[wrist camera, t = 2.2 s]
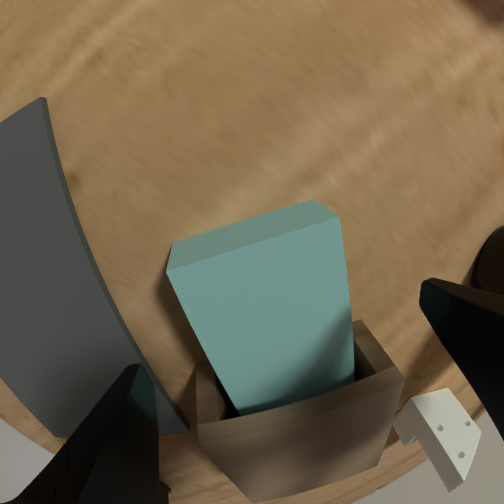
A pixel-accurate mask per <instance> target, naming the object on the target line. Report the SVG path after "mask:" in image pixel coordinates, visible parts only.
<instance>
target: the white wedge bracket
mask: <svg viewBox="0 0 504 504" xmlns="http://www.w3.org/2000/svg"><path fill="white" fill-rule="evenodd" d="M392 426H393V427H394V429H395V431H396V433H397V434H398V436H399V438H400V440H401V441H402V443H403V445H404V446H407V445H410V444H413V443H416V442H418V441H419V442H420V444H421V445H422V447H423V449H424V450H425V452H426V454H427V455H428V457H429V459H430V460H431V462H432V464H433V465H434V467H435V469H436V471H437V472H438V474H439V476H440V478H441V479H442V481H443V483H444V485H445V486H446V488H447V490H448V492H450V491H452V490H453V489H455V488H456V487H457V486H459V485H460V484H461V483H463V482H464V480H465V478H466V475H467V473H468V470H469V468H470V465H471V462H472V460H473V457H474V454H475V452H476V449H477V445H478V442H479V440H480V436H481V431H480V430H479V429H478V427H477V426H476V424H475V423H474V421H473V420H472V419H471V417H470V416H469V415H468V413H467V412H466V411H465V409H464V408H463V407H462V405H461V404H460V403H459V402H458V400H457V399H456V398H455V396H454V395H453V394H452V393H451V391H450V390H449V389H448V388H445V389H441V390H438V391H434V392H430V393H427V394H423V395H419V396H415V397H410V399H409V400H408V401H407V403H406V404H405V405H404V407H403V408H402V409H401V411H400V412H399V413H398V414H397V416H396V417H395V418H394V421H393V424H392Z"/></svg>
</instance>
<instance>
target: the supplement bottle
mask: <svg viewBox="0 0 504 504" xmlns="http://www.w3.org/2000/svg"><path fill="white" fill-rule="evenodd" d="M472 288H475V289H479V290H483V291H487V292H490V293H494V294H498V295H502V296H504V226H502V227H500V228H499V229H497V230H496V231H495V232H494V233H493V234H492V236H491V237H490V238H489V240H488V241H487V243H486V244H485V246H484V248H483V250H482V252H481V254H480V256H479V258H478V261H477V263H476V266H475V269H474V273H473V278H472Z"/></svg>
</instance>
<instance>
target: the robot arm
mask: <svg viewBox="0 0 504 504" xmlns="http://www.w3.org/2000/svg"><path fill="white" fill-rule="evenodd" d="M419 305H420V308H421V310H422V311H423V313H424V315H425V316H426V318H427V320H428V321H429V323H430V325H431V326H432V328H433V330H434V331H435V333H436V335H437V337H438V338H439V340H440V341H441V343H442V344H443V346H444V347H445V349H446V350H447V351H448V353H449V354H450V356H451V357H452V359H453V360H454V361H455V363H456V364H457V366H458V367H459V369H460V370H461V372H462V373H463V375H464V376H465V378H466V379H467V381H468V382H469V384H470V385H471V387H472V388H473V390H474V391H475V393H476V394H477V396H478V398H479V399H480V401H481V402H482V404H483V406H484V407H485V409H486V411H487V412H488V414H489V416H490V417H491V419H492V421H493V422H494V424H495V426H496V428H497V429H498V431H499V433H500V435H501V437H502V439H503V441H504V296H502V295H498V294H494V293H490V292H487V291H483V290H479V289H475V288H472V287H468V286H464V285H460V284H456V283H453V282H449V281H445V280H441V279H437V278H429V279H427V280H424V281H423V282H422V284H421V290H420V299H419ZM168 493H171V489H170V488H169V487H167V486H166V485H165V484H163V483H162V482H160V481H159V428H158V418H157V407H156V396H155V386H154V382H153V380H152V378H151V377H150V375H149V374H148V372H147V370H146V369H145V367H144V366H143V365H142V364H141V363H135V364H130V365H128V366H127V367H126V368H125V369H124V370H123V372H122V373H121V374H120V375H119V376H118V378H117V379H116V380H115V381H114V383H113V384H112V385H111V386H110V387H109V389H108V390H107V391H106V392H105V394H104V395H103V396H102V397H101V399H100V400H99V401H98V402H97V403H96V405H95V406H94V407H93V408H92V410H91V411H90V412H89V413H88V415H87V416H86V417H85V418H84V420H83V421H82V422H81V423H80V425H79V426H78V427H77V428H76V430H75V431H74V432H73V433H72V435H71V436H70V437H69V439H68V440H67V441H66V443H65V444H64V445H63V446H62V447H61V449H60V450H59V451H58V452H57V454H56V455H55V456H54V457H53V459H52V460H51V461H50V462H49V463H48V465H47V466H46V467H45V468H44V469H43V470H42V471H41V472H40V473H39V475H37V477H36V478H35V479H34V480H33V481H32V482H31V483H30V484H29V485H28V486H27V487H26V488H25V489H24V490H23V491H22V493H20V494H19V495H18V496H17V497H16V498H15V499H13V500H11V501H8V502H5V503H0V504H169V499H168Z"/></svg>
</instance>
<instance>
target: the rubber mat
mask: <svg viewBox="0 0 504 504" xmlns="http://www.w3.org/2000/svg"><path fill="white" fill-rule="evenodd" d="M135 363H141V364H142V365H143V366H144V367H145V369H146V370H147V372H148V374H149V375H150V377H151V378H152V380H153V382H154V386H155V396H156V407H157V418H158V428H159V435H167V434H176V433H184V432H190V426H189V424H188V423H187V422H186V420H185V419H184V418H183V416H182V415H181V413H180V412H179V411H178V409H177V408H176V406H175V405H174V403H173V402H172V400H171V399H170V398H169V396H168V395H167V393H166V392H165V390H164V389H163V387H162V385H161V384H160V382H159V381H158V379H157V378H156V376H155V375H154V373H153V371H152V370H151V368H150V366H149V365H148V363H147V361H146V360H145V358H144V356H143V355H142V353H141V351H140V350H139V348H138V346H137V344H136V343H135V341H134V339H133V337H132V336H131V334H130V332H129V330H128V328H127V326H126V324H125V323H124V321H123V319H122V317H121V315H120V313H119V311H118V309H117V307H116V305H115V303H114V301H113V299H112V297H111V295H110V293H109V291H108V289H107V287H106V284H105V282H104V280H103V278H102V276H101V273H100V271H99V269H98V267H97V264H96V262H95V260H94V257H93V255H92V253H91V250H90V248H89V245H88V243H87V240H86V238H85V235H84V233H83V230H82V227H81V225H80V222H79V219H78V216H77V214H76V211H75V208H74V205H73V202H72V199H71V196H70V193H69V190H68V186H67V183H66V180H65V177H64V173H63V170H62V166H61V163H60V159H59V155H58V151H57V147H56V143H55V139H54V135H53V130H52V126H51V121H50V116H49V111H48V106H47V100H46V98H43V97H40V98H38V99H36V100H35V101H33V102H31V103H30V104H28V105H26V106H25V107H23V108H22V109H20V110H19V111H17V112H15V113H14V114H12V115H11V116H10V117H8V118H7V119H5V120H4V121H2V122H1V123H0V377H1V378H2V380H3V381H4V382H5V383H6V384H7V386H8V387H9V388H10V389H11V391H12V392H13V393H14V394H15V395H16V396H17V398H18V399H19V400H20V401H21V402H22V403H23V404H24V405H25V406H26V408H27V409H28V410H29V411H30V412H31V413H32V414H33V415H34V416H35V417H36V418H37V419H38V420H39V421H40V422H41V423H42V424H43V425H44V426H45V427H46V428H47V429H48V430H49V431H50V432H51V433H52V434H53V435H54V436H56V437H67V438H69V437H70V436H71V435H72V433H73V432H74V431H75V430H76V428H77V427H78V426H79V425H80V423H81V422H82V421H83V420H84V418H85V417H86V416H87V415H88V413H89V412H90V411H91V410H92V408H93V407H94V406H95V405H96V403H97V402H98V401H99V400H100V399H101V397H102V396H103V395H104V394H105V392H106V391H107V390H108V389H109V387H110V386H111V385H112V384H113V383H114V381H115V380H116V379H117V378H118V376H119V375H120V374H121V373H122V372H123V370H124V369H125V368H126V367H127V366H128V365H130V364H135Z"/></svg>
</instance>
